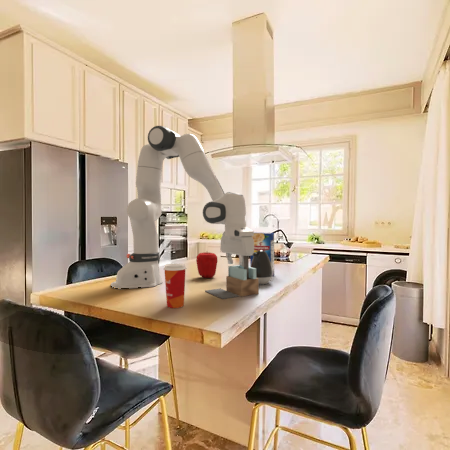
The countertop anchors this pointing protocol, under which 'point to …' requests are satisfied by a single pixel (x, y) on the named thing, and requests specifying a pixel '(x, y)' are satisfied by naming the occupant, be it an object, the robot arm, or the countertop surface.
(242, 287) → the stand
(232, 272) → the c link
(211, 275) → the apple
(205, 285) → the countertop surface
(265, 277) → the pump dispenser
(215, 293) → the mat
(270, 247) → the beverage box
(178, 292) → the paper cup
